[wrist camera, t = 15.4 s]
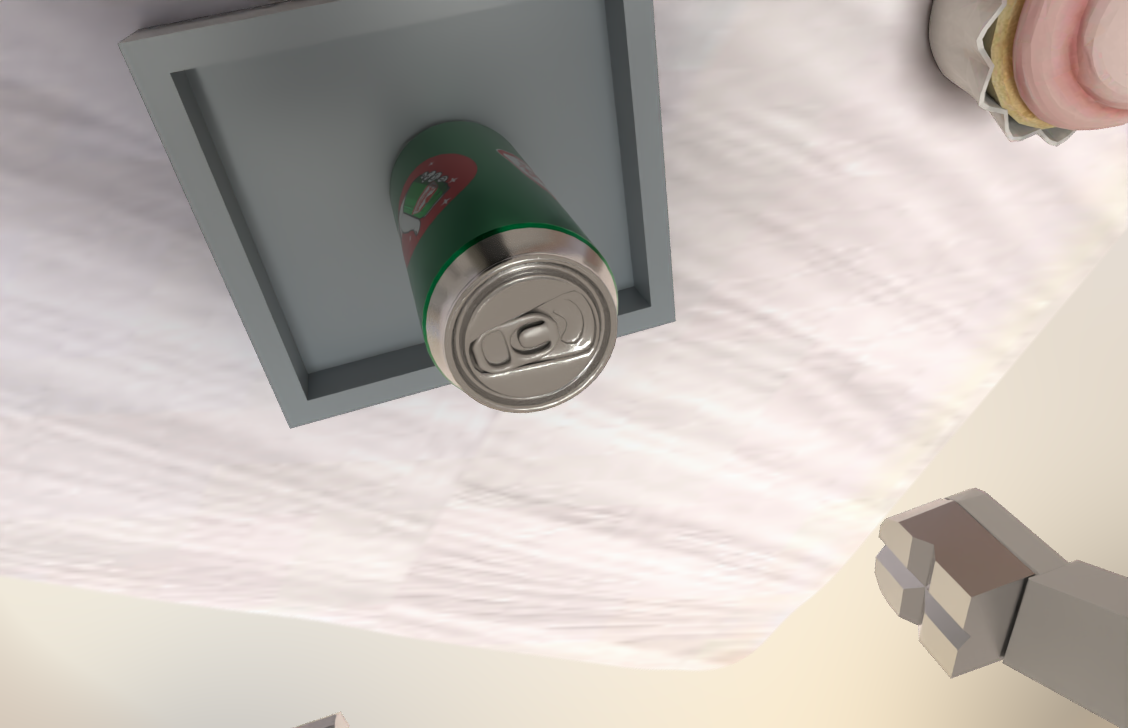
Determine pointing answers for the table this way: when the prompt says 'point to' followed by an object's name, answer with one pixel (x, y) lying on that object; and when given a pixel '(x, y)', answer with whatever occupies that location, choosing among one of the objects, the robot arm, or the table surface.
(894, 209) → the table surface
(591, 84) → the tray
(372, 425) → the table surface
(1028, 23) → the cupcake
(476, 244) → the soda can
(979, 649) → the robot arm
